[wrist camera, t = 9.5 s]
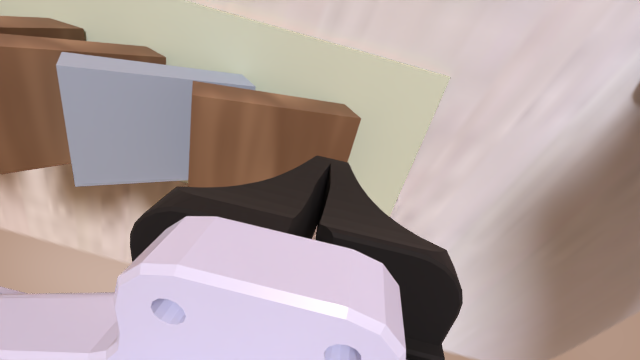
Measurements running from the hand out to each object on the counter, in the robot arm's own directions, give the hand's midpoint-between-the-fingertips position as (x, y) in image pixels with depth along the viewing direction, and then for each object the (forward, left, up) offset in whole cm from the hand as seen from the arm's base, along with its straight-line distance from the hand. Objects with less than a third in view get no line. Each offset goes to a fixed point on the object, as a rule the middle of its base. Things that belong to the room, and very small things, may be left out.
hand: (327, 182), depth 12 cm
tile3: (+9, 0, -3) cm, 10 cm away
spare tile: (+5, 0, -3) cm, 5 cm away
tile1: (0, 0, -3) cm, 3 cm away
